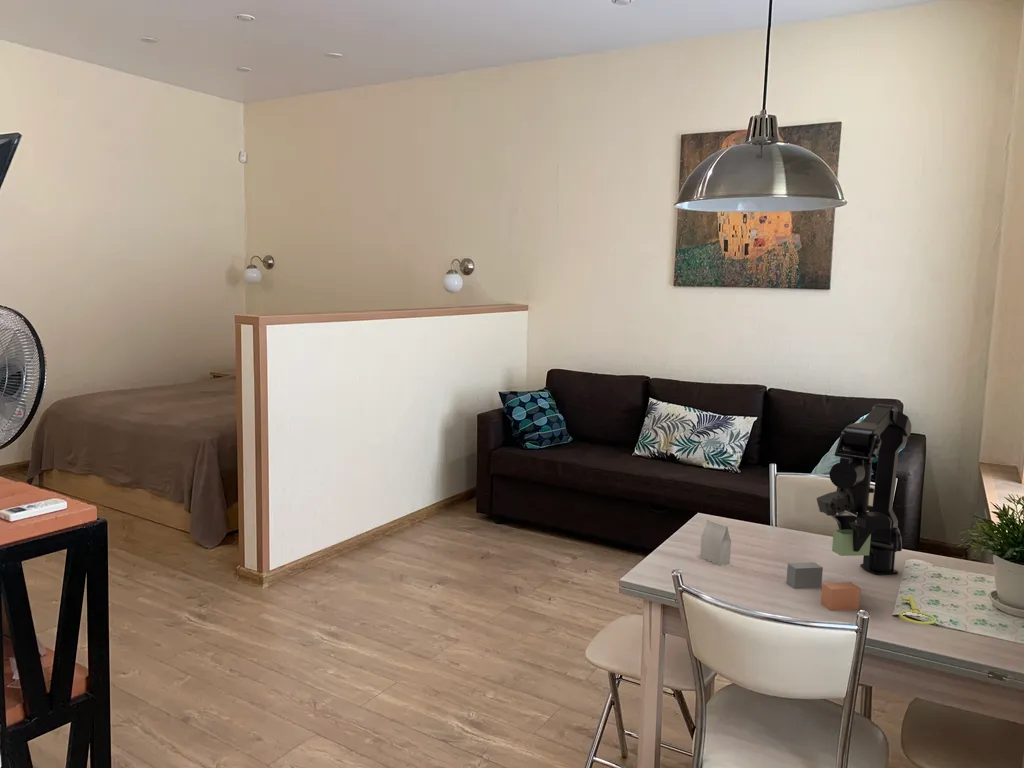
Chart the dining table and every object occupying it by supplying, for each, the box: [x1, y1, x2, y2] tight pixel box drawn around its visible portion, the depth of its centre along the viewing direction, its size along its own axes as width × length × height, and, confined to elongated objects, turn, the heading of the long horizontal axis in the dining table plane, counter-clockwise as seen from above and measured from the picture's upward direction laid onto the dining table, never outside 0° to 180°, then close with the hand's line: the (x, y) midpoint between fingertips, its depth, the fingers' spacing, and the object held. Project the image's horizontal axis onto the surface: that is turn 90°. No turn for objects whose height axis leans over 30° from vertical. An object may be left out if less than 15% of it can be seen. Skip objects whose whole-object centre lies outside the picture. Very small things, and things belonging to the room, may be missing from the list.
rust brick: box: [820, 581, 861, 612], centre depth 172 cm, size 7×4×5 cm, turn 100°
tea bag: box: [699, 519, 732, 566], centre depth 200 cm, size 4×7×10 cm, turn 32°
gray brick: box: [786, 561, 824, 589], centre depth 184 cm, size 7×4×5 cm, turn 100°
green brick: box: [831, 529, 871, 557], centre depth 176 cm, size 7×4×5 cm, turn 100°
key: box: [898, 595, 937, 626], centre depth 169 cm, size 7×12×2 cm, turn 179°
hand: (850, 548), depth 176 cm, fingers closed on green brick, 4 cm apart
